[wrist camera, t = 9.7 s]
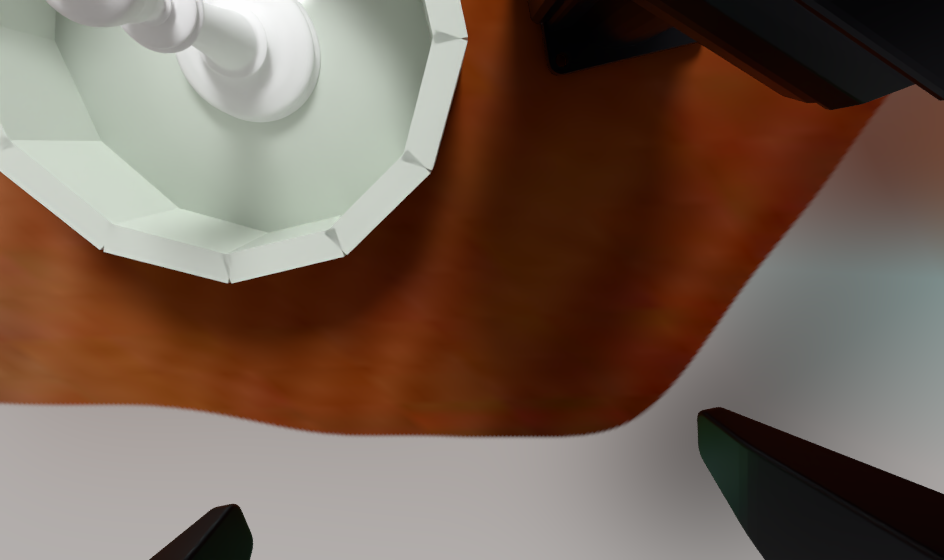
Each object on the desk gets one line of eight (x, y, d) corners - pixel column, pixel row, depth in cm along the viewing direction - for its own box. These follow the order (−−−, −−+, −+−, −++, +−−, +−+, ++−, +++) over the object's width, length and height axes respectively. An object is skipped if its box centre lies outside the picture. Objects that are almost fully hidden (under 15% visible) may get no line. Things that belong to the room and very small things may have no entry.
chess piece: (349, 55, 16) (217, -69, 7) (261, 150, 17) (34, 157, 8) (240, -63, 15) (-105, -414, 6) (151, 45, 16) (-285, -102, 6)
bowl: (396, -245, 15) (375, -406, 10) (491, 201, 19) (505, 218, 15) (-41, -135, 15) (-240, -250, 10) (155, 282, 19) (72, 321, 15)
